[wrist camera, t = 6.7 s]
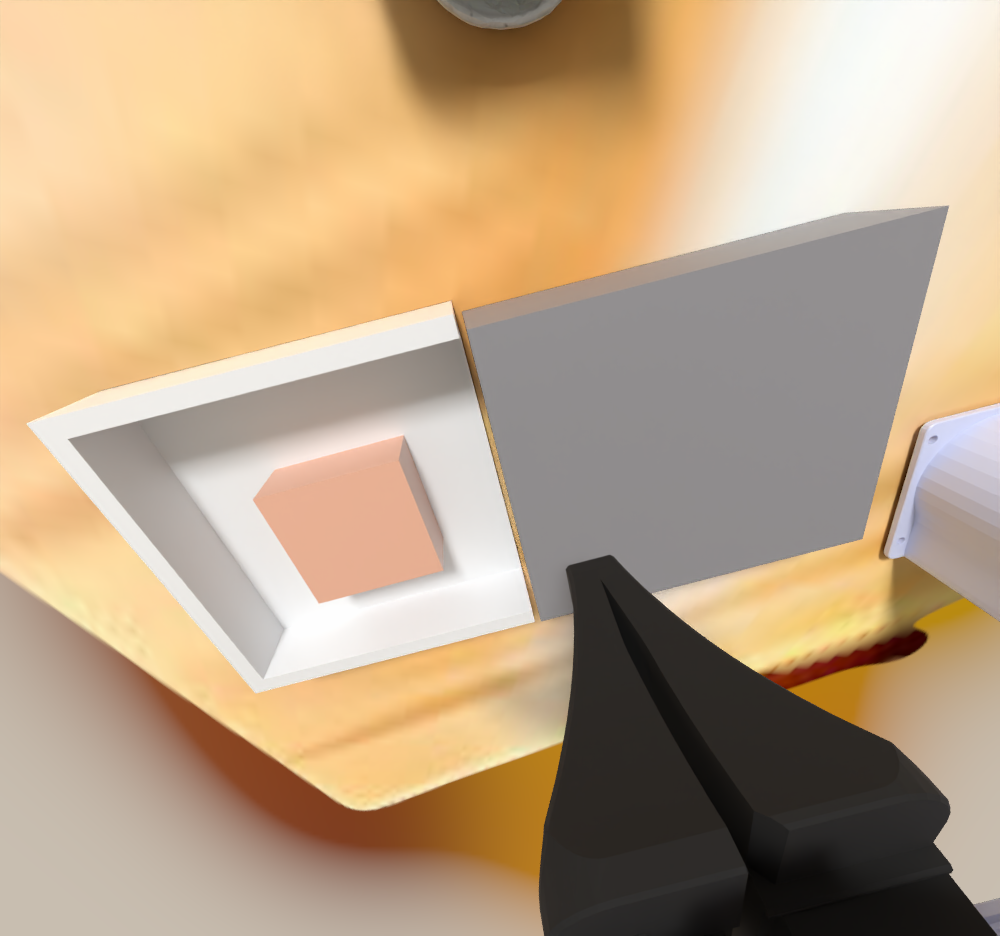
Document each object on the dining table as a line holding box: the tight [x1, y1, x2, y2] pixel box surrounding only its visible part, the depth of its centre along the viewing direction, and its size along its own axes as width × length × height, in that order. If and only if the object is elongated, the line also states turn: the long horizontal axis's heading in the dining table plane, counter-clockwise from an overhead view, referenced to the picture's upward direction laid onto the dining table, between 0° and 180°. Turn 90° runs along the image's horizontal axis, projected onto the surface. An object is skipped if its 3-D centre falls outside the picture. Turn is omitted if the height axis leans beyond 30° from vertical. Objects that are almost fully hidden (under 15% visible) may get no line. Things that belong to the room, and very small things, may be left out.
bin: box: [27, 301, 535, 693], centre depth 19 cm, size 15×14×4 cm
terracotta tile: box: [253, 435, 444, 604], centre depth 19 cm, size 6×6×2 cm
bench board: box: [462, 206, 949, 621], centre depth 19 cm, size 14×16×4 cm
